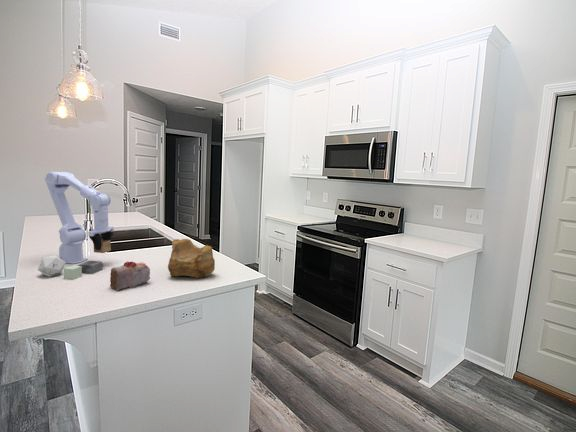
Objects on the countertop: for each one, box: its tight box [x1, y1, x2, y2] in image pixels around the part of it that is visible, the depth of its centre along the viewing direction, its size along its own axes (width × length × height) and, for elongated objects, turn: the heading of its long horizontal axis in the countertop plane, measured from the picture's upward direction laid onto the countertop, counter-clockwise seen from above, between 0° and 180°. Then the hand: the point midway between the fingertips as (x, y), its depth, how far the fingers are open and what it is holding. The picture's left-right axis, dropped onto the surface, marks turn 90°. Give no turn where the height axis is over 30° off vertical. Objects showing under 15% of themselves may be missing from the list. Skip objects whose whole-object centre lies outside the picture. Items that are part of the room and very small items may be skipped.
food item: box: [109, 261, 151, 291], centre depth 130 cm, size 14×8×10 cm, turn 144°
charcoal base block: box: [78, 260, 103, 275], centre depth 145 cm, size 6×6×4 cm
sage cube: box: [62, 265, 83, 281], centre depth 137 cm, size 4×4×4 cm
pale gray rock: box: [37, 254, 67, 278], centre depth 138 cm, size 8×9×10 cm
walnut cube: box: [93, 239, 112, 254], centre depth 153 cm, size 5×5×5 cm
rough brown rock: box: [167, 238, 216, 279], centre depth 145 cm, size 23×17×15 cm
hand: (102, 248), depth 153 cm, fingers closed on walnut cube, 5 cm apart
